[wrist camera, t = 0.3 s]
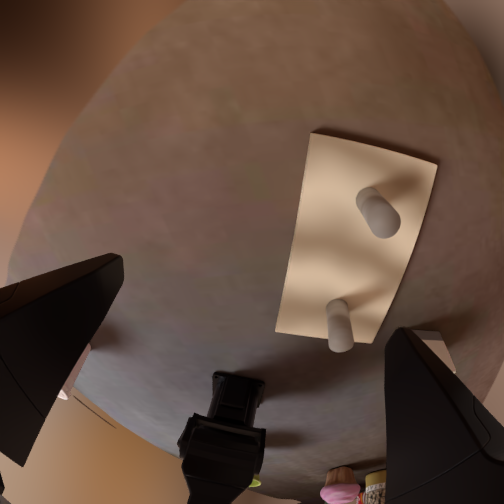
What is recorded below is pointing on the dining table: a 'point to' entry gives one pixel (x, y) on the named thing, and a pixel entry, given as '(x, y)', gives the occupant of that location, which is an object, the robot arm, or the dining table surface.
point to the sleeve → (436, 346)
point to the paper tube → (376, 487)
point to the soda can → (361, 498)
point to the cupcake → (340, 486)
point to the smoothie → (74, 375)
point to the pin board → (351, 239)
